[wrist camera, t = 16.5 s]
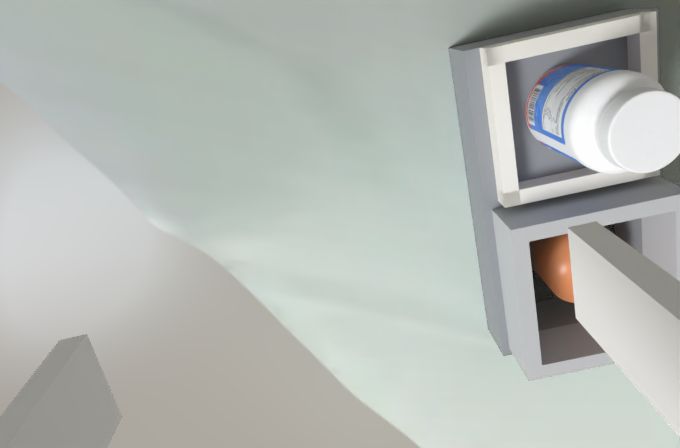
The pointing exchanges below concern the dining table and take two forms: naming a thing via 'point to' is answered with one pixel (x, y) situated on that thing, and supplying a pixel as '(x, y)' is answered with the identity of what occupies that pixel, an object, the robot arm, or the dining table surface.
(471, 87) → the grey compartment organizer
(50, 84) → the dining table surface
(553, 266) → the orange rounded object
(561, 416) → the dining table surface
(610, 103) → the pill bottle
